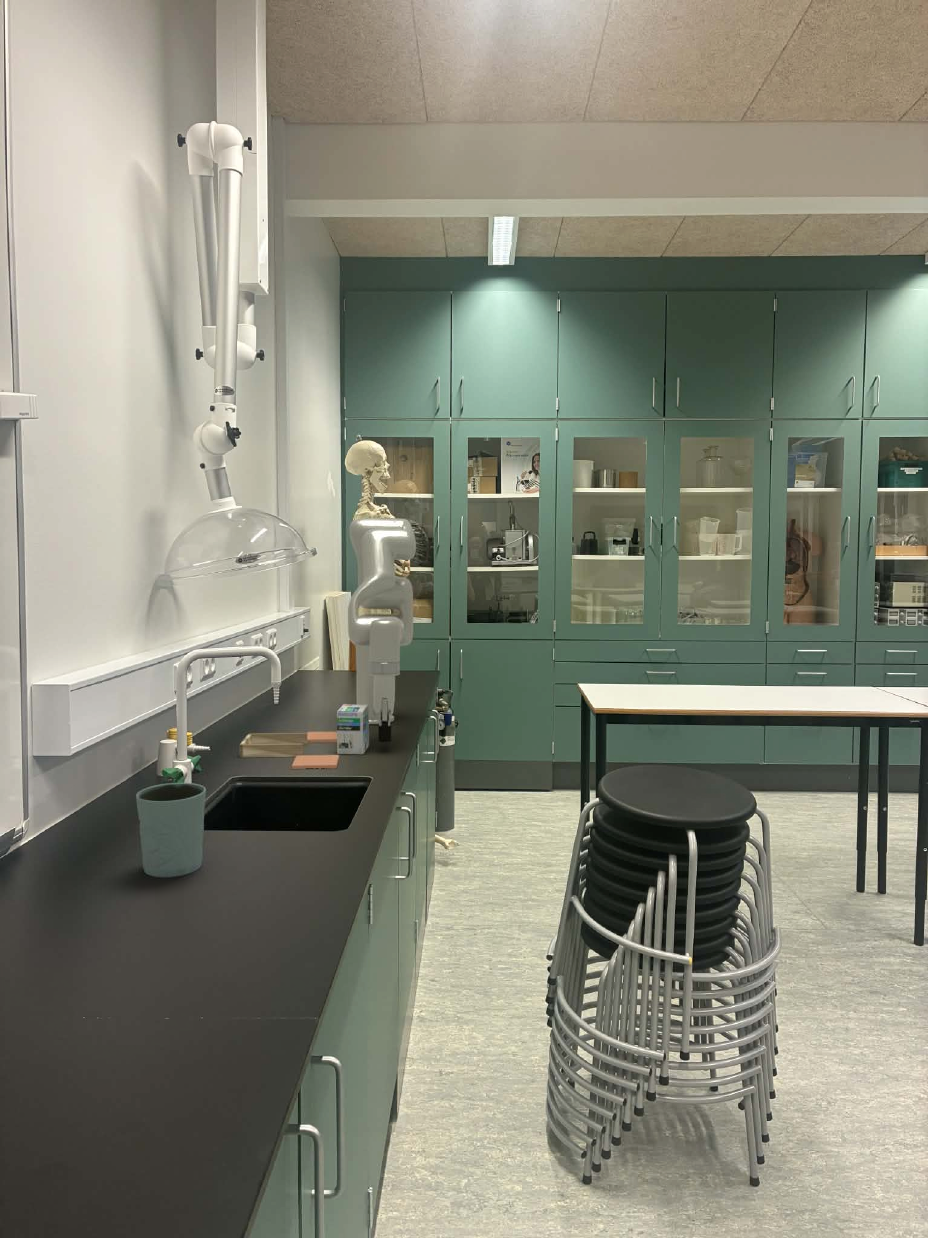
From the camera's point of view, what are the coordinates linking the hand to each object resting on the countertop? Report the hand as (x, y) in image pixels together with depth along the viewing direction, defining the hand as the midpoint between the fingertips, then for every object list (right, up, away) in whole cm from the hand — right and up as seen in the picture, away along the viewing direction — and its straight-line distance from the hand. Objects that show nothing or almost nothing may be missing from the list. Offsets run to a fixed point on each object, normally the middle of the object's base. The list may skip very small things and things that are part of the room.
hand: (384, 741), depth 213 cm
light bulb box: (-8, -2, -1) cm, 8 cm away
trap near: (-15, -3, -15) cm, 21 cm away
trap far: (-17, -1, +13) cm, 21 cm away
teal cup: (-25, -8, -82) cm, 86 cm away
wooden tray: (-27, -2, -2) cm, 27 cm away
